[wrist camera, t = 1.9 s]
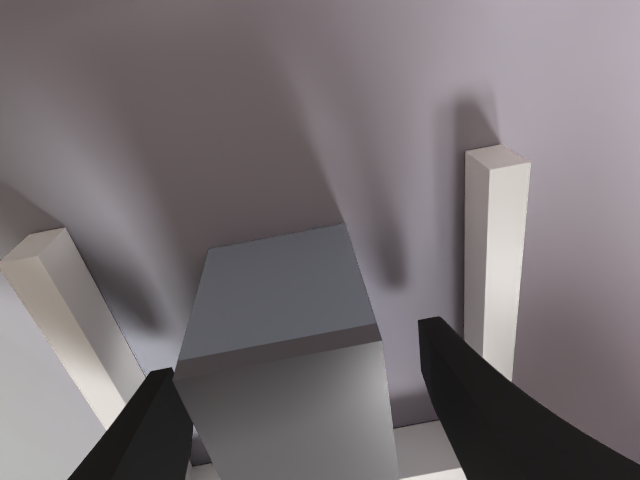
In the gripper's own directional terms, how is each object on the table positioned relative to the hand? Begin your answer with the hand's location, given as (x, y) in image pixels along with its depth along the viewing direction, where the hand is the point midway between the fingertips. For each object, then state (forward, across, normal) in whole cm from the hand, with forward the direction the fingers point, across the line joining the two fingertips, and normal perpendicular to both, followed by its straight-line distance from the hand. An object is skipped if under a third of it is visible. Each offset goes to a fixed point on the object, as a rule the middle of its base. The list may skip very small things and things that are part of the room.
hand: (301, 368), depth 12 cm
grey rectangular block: (+2, 0, 0) cm, 2 cm away
